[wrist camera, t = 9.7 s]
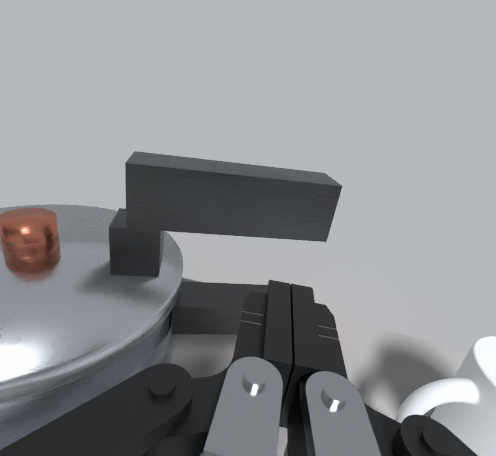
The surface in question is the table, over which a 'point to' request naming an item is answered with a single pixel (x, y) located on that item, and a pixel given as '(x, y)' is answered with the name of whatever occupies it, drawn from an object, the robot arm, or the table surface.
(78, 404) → the cooker pot
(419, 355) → the table surface
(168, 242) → the cooker lid
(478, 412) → the mug
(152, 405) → the robot arm
